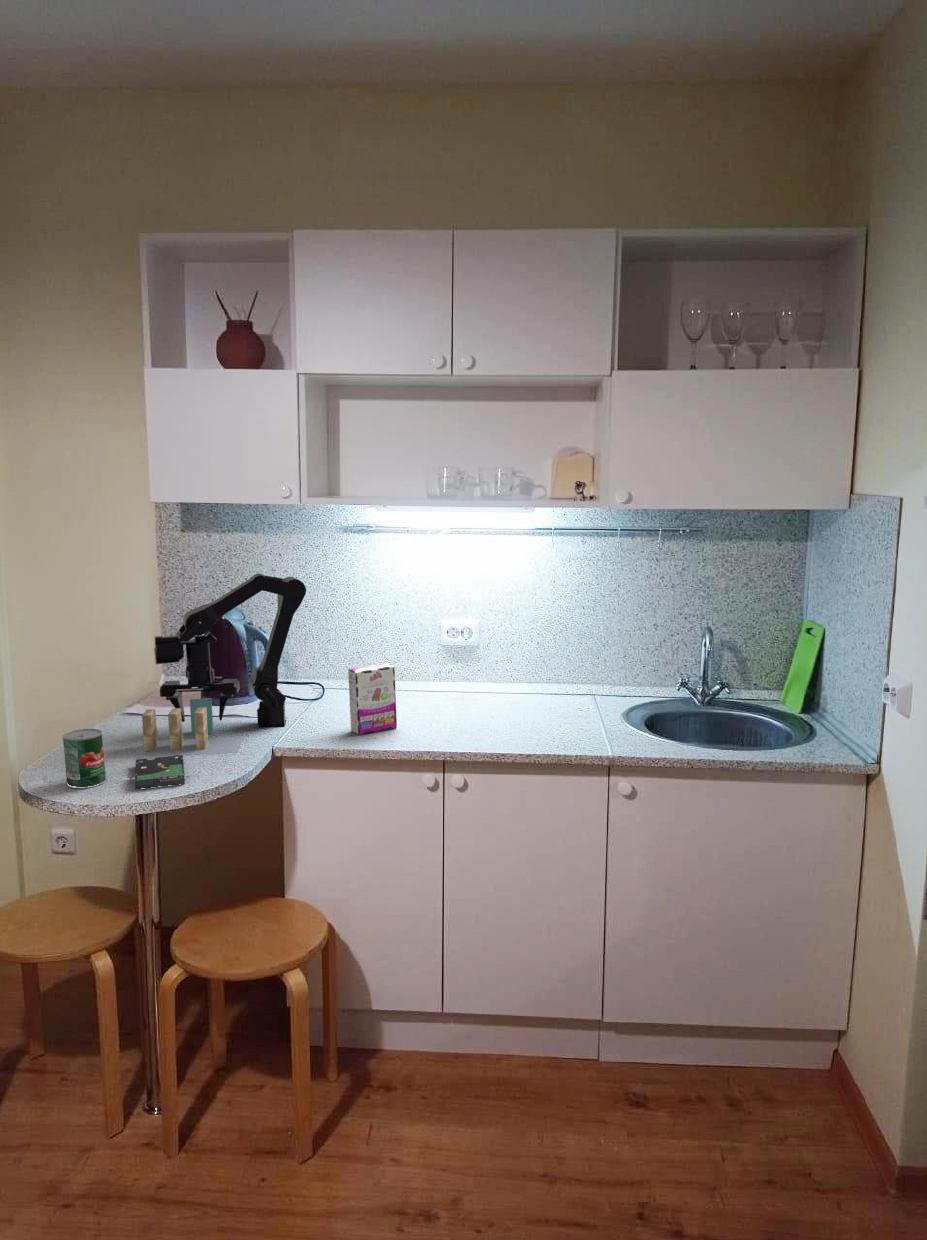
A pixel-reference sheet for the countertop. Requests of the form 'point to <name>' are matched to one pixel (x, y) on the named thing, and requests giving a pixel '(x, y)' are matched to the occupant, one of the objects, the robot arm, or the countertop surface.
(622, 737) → the countertop surface
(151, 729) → the maple tile
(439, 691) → the countertop surface
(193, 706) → the teal tile
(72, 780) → the canned tomato
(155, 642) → the robot arm
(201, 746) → the maple tile
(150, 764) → the disk drive
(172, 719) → the maple tile
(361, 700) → the candy bar box
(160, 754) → the slate mat
